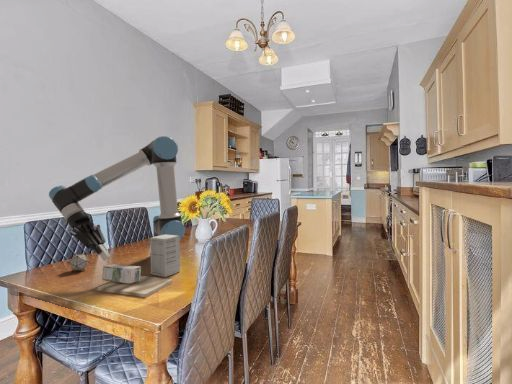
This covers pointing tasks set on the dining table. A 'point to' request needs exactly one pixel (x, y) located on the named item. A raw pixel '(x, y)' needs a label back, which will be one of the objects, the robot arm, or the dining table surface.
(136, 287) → the cutting board
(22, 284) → the dining table surface
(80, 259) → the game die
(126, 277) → the syrup box
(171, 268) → the supplement box
